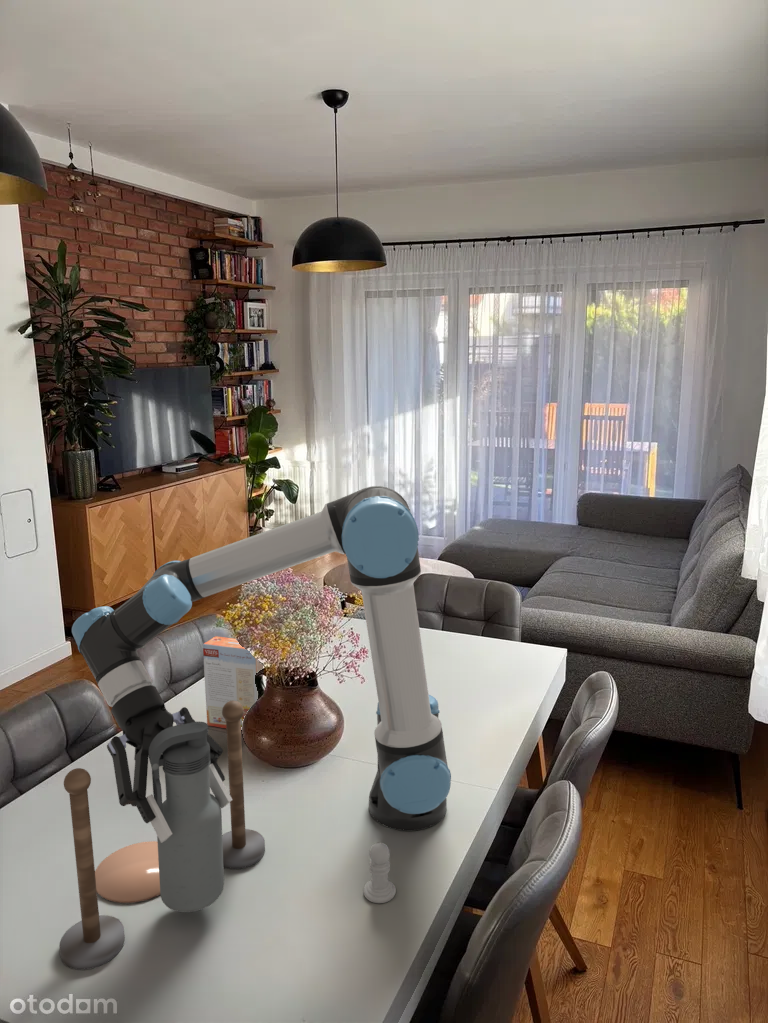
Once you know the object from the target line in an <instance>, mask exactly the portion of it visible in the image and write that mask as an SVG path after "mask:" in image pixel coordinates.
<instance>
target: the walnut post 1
mask: <svg viewBox="0 0 768 1023" xmlns="http://www.w3.org/2000/svg"><path fill="white" fill-rule="evenodd" d="M91 782H92V777H91V775H90V773H89V771H88V770H86V769H85V768H80V767H77V768H74V769H71V770H70V771H69V772H68V773H67V774H66V775H65V776H64V779H63V787H64V788H63V789H64V790H65V792H67V793H68V795H69V802H70V804H69V805H70V814H71V823H72V824H71V825H72V836H73V843H74V844H73V845H74V855H75V856H74V857H75V866H76V877H77V885H78V896H79V908H80V917H81V920H80V921H78V922H76V923H74V924H73V925H71V926H70V928H68V929H67V930H66V931H65V933H64V934H63V935H62V937H61V939H60V942H59V954H60V955H59V956H60V960H61V962H62V963H63V965H64V966H66V967H67V968H68V969H69V968H70V969H73V970H78V971H79V970H80V971H83V970H84V971H85V970H89V969H90V970H91V969H94V968H97V967H100V966H103V965H104V964H107V963H108V962H110V961H111V960H112V959H114V958H115V957H116V956H117V955H118V954H119V953H120V952H121V950H122V949H123V947H124V944H125V941H126V939H125V938H126V937H125V927H124V924H123V922H122V921H121V919H119V918H117V917H115V916H113V915H108V914H107V915H106V914H104V915H100V913H99V903H98V902H99V901H98V900H99V899H98V893H97V889H96V878H95V871H96V868H95V859H94V847H93V837H92V836H93V834H92V826H91V817H90V816H91V814H90V805H89V804H90V803H89V796H88V793H89V792H88V789H89V788H90V786H91Z"/></svg>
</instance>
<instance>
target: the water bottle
mask: <svg viewBox="0 0 768 1023" xmlns="http://www.w3.org/2000/svg"><path fill="white" fill-rule="evenodd" d="M207 735H209V726H208V724H207V722H205V721H195V722H192V723H187V724H182V725H176V724H175V725H173V726H172V727H169V728H166V729H164V730H162V731H161V732H160V733H158V734H157V735H156V736H155V738H154V739H153V740H152V742H151V744H150V747H149V756H148V761H149V763H150V768H151V779H152V780H151V781H152V793H153V794H152V795H153V797H154V799H155V801H156V803H157V805H158V807H159V809H160V811H161V812H162V814H163V816H164V818H165V820H166V822H167V824H168V826H169V828H170V830H171V832H172V835H171V836H170V837H169V838H168V839H167V840H166V841H164V842H162V843H161V842H160V840H159V838H158V836H157V835H156V838H157V839H156V840H157V842H158V860H159V878H160V895H159V896H160V899H161V901H162V903H163V904H164V905H165V906H166V907H167V908H168V909H170V910H172V911H175V912H178V913H179V912H180V913H191V912H197V911H201V910H203V909H206V908H207V907H210V906H211V905H212V904H215V902H216V901H217V900H218V899H219V897H220V896H221V895H222V893H223V890H224V885H225V875H224V874H225V872H224V871H225V870H224V869H225V868H224V867H223V841H222V835H223V819H222V808H221V806H220V803H219V801H218V799H217V798H216V797H215V796H214V794H212V793H211V788H210V782H209V766H210V745H209V743H208V742H207V737H206V736H207ZM160 767H162V770H163V772H164V780H165V781H164V782H165V800H164V801H163V796H162V795H163V793H162V783H161V778H160Z"/></svg>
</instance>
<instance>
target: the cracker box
mask: <svg viewBox="0 0 768 1023" xmlns="http://www.w3.org/2000/svg"><path fill="white" fill-rule="evenodd" d="M236 639H237V638H231V637H224V636H218V635H216V636H214V637H212V638H210V639H209V640H207V641H205V642H204V643H203V644H202V652H203V670H204V671H203V672H204V673H203V674H204V675H203V676H204V692H205V693H204V694H205V705H206V706H205V709H206V723H207V724H208V727H216V728H222V729H226V720H225V719H224V717H223V715H222V709H223V706H224V705H225V704H226V703H227V702H229V701H238V702H239V703H241V705H242V706H243V709H244V712H243V716H242V717H241V719H240V721H241V727H242V721H243V719H244V716H245V715H246V713H247V711H248V710H249V709H250V707H251V706H252V705H253V704H254V703H255V702H256V701H257V699H258V691H257V687H256V684H255V675H256V673H258V672H259V671H260V670H262V669H263V665H262V664H260V663H259V662H258V661H257V660H256V659H255V658H254V657H253V656H252V655H251V653H250V651H248V650H246V649H245V648H244V647H242V646H241V645H240V644H239V642H238V641H237V640H236Z"/></svg>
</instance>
